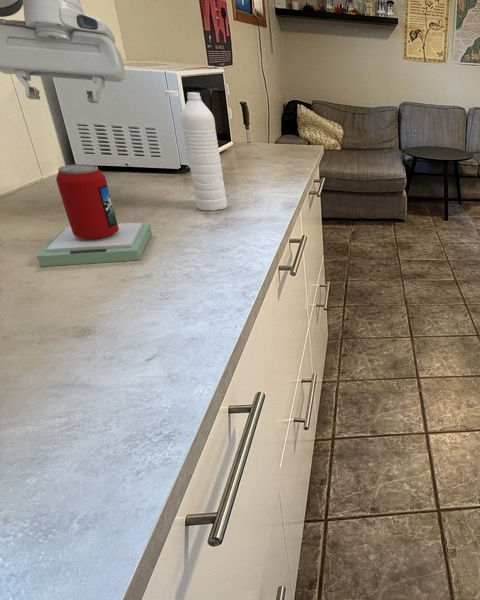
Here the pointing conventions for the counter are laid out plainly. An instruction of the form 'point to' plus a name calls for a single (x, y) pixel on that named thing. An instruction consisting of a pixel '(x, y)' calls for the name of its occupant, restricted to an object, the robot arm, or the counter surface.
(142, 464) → the counter surface
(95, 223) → the beverage can
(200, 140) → the water bottle
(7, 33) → the robot arm
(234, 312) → the counter surface
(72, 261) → the kitchen scale
